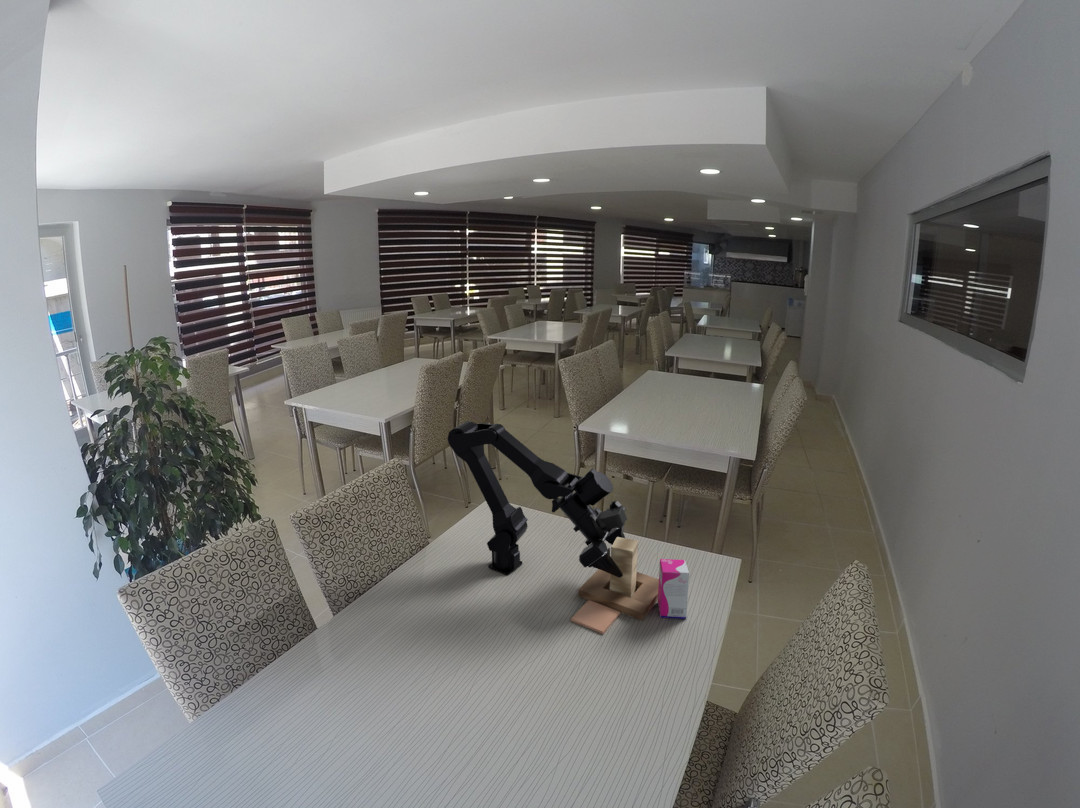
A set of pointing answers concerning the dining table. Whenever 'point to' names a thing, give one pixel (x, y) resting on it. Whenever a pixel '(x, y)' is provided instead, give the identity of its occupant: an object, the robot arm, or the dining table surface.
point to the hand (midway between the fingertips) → (626, 566)
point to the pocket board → (633, 606)
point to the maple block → (624, 566)
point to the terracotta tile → (595, 616)
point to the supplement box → (673, 588)
